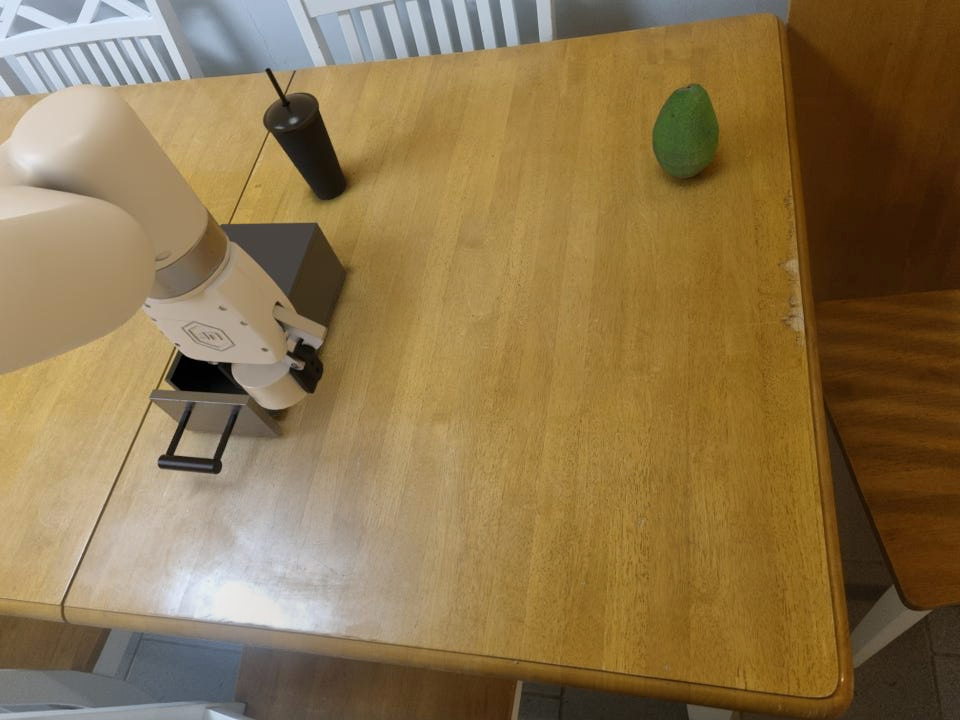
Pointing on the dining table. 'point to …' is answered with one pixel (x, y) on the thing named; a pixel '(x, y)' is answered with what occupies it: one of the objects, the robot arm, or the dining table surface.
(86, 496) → the dining table surface
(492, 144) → the dining table surface
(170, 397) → the drawer
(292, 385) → the white cylindrical puck
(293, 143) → the drinking cup
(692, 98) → the fruit
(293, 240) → the cabinet
